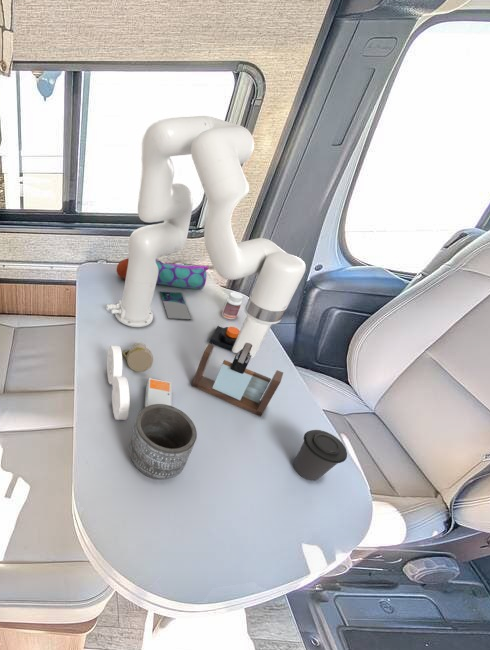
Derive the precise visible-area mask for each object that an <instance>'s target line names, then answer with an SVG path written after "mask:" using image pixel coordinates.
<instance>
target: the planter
mask: <svg viewBox="0 0 490 650" xmlns="http://www.w3.org/2000/svg"><path fill="white" fill-rule="evenodd" d="M133 426H134V427H133V429H132V434H131V437H130V441H129V445H128V452H129V457H130V459H131V461H132V463H133V465H134V466H135V467H136V469H137V470H138V471H139V472H140V473H141V474H143V475H144V476H145V477H147V478H149V479H153V480H159V481H161V480H169V479H172V478H175V477H176V476H179V475H180V474H181V473H182V472H183V471H184V469H185V467H186V465H187V462H188V460H189V458H190V455H191V453H192V450H193V448H194V445H195V444H196V441H197V437H198V433H197V432H198V431H197V428H196V425H195V423H194V422H193V420H192V419H191V418H190V416H188V415H187V414H186V413H185V412H184V411H183V410H181V409H179V408H177V407H175V406H172V405H171V406H169V405H165V404H154V405H149V406H147V407H145V406H144V407H143V408H142V409H141V410H140V411H139V412H138V414H137V416H136V419H135V423H134V425H133Z"/></svg>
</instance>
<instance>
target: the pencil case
mask: <svg viewBox="0 0 490 650" xmlns="http://www.w3.org/2000/svg"><path fill="white" fill-rule="evenodd" d="M156 264H157V266H158V270H159V272H158V277H157V282H156V284H158V285H161V286H168V287H174V288H182V289H193V290H203V289H204V288H205V286H206V282H207V271H208V270H209V269H210V265H187V264H180V263H179V264H178V263H170V262H166V261H163V260H162V259H159V257H158V258H156Z"/></svg>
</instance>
